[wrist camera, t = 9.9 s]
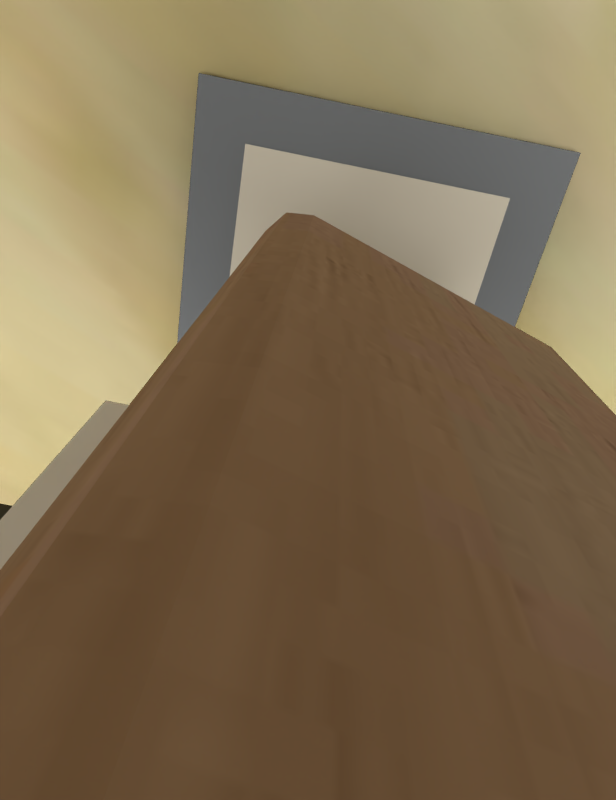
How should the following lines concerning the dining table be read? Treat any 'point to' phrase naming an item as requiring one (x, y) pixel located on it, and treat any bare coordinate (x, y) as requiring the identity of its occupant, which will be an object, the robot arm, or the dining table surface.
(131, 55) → the dining table surface
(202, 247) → the mat
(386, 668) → the wooden block
